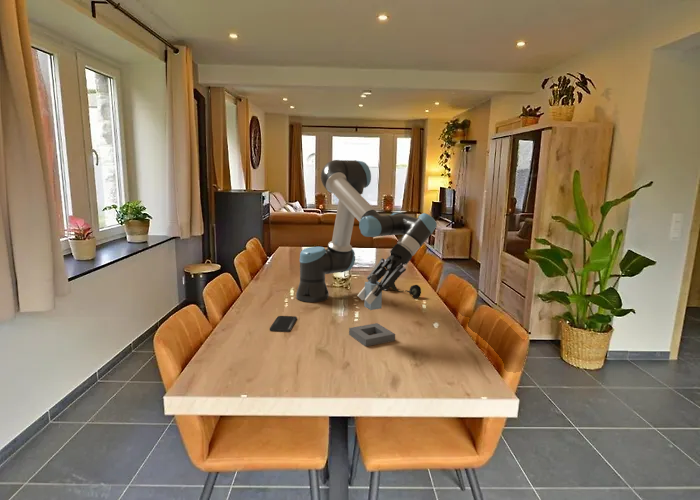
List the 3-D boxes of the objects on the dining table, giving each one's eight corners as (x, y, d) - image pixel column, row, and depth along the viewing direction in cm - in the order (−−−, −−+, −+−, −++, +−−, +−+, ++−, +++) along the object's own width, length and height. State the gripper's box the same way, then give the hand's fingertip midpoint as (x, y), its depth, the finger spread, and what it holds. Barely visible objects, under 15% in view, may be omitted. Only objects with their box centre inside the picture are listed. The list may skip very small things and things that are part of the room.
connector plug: (364, 306, 151) (365, 273, 149) (374, 304, 153) (375, 272, 151) (370, 310, 147) (371, 276, 145) (381, 308, 149) (382, 275, 147)
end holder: (349, 334, 155) (349, 328, 154) (377, 329, 160) (377, 323, 160) (365, 346, 144) (365, 339, 144) (394, 340, 150) (395, 333, 149)
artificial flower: (410, 303, 199) (404, 283, 196) (380, 296, 217) (375, 278, 215) (423, 295, 203) (418, 276, 201) (393, 289, 222) (388, 271, 220)
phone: (297, 316, 171) (289, 330, 156) (297, 319, 171) (289, 332, 156) (277, 315, 171) (268, 329, 156) (277, 318, 171) (268, 332, 156)
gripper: (425, 261, 147) (383, 313, 142) (396, 252, 162) (358, 299, 157) (413, 247, 143) (370, 300, 138) (385, 239, 158) (345, 287, 154)
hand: (363, 299), depth 148 cm, fingers closed on connector plug, 4 cm apart
